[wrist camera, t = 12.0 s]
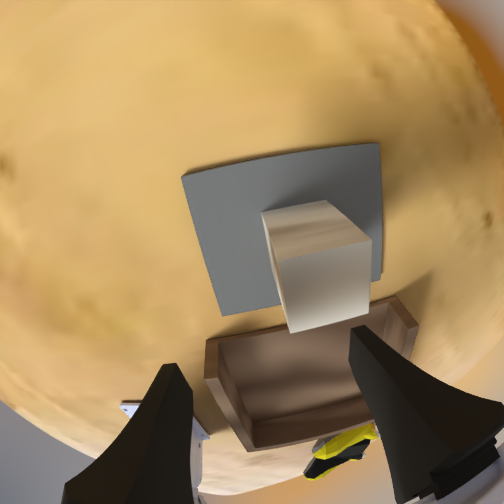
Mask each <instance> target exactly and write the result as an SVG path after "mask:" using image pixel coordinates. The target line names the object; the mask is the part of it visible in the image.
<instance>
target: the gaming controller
mask: <svg viewBox="0 0 504 504" xmlns="http://www.w3.org/2000/svg"><path fill="white" fill-rule="evenodd" d="M378 437H380V434H379V432H377V431H376V430H375V428H374V425H373V422H372V423H370V424H367V425H364V426H361V427H358V428H355V429H352V430H349V431H346V432H342V433H339V434H336V435H332V436H328V437H325V438H321V439H318V441H317V442H316V444H315V446H314V447H313V449H312V452H313V455H314V457H313V459H312V460H311V461H310V462H309V464H308V466H307V467H306V469H305V470H304V472H303V473H304V476H305V478H306V479H308V480H312V481H313V480H317V479H319V478H322V477H324V476H325V475H326V474H328V473H329V472H331V471H332V470H333V469H335V468H336V467H338V466H339V465H340V464H342V463H344V462H346V461H348V460H359V459H362V458H363V457H365V455H366V454H365V453H364V450H365V449H366V448H367V446H368V445H369V444H370V440H371V439H372V440H375V439H378Z"/></svg>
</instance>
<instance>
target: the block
mask: <svg viewBox="0 0 504 504" xmlns="http://www.w3.org/2000/svg"><path fill="white" fill-rule="evenodd" d="M261 214H262V219H263V225H264V230H265V235H266V241H267V246H268V252H269V257H270V262H271V268H272V272H273V276H274V279H275V282H276V286H277V289H278V293H279V296H280V300H281V303H282V307H283V310H284V314H285V317H286V321H287V324H288V328H289V331H290V334H291V333H295V332H300V331H304V330H308V329H312V328H316V327H320V326H324V325H328V324H332V323H335V322H339V321H343V320H346V319H350V318H353V317H357V316H360V315H364V314H367V313H368V312H369V300H370V285H371V262H372V239H371V238H369V237H368V236H367V235H366V234H365V233H364V232H363V231H362V230H361V229H359V228H358V227H357V226H356V225H355V224H354V223H353V222H352V221H350V220H349V219H348V218H347V217H346V216H345V215H343V214H342V213H341V212H340V211H339V210H338V209H336V208H335V207H334V206H333V205H332V204H330V203H329V202H328V201H327V200H322V201H316V202H311V203H306V204H300V205H295V206H290V207H285V208H280V209H275V210H270V211H265V212H261Z"/></svg>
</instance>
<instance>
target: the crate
mask: <svg viewBox="0 0 504 504" xmlns="http://www.w3.org/2000/svg"><path fill="white" fill-rule="evenodd" d="M361 325H366V326H367V327H368V328H369V329H370V330H372V331H373V332H374V333H375V334H376V335H377V336H378V337H380V338H381V339H382V340H383V341H384V342H386V343H387V344H388V345H389V346H390V347H392V348H393V349H394V350H395V351H397V352H398V353H399V354H400V355H402V356H403V357H404V358H406V359H407V360H408V361H409V358H410V355H411V352H412V348H413V345H414V342H415V338H416V335H417V331H418V327H419V324H418V323H417V322H416V321H415V319H414V318H413V317H412V315H411V314H410V313H409V312H408V310H407V309H406V308H405V307H404V305H403V304H402V303H401V302H400V300H399V299H398V298H397V297H396V296H393V297H389V298H386V299H383V300H380V301H376V302H373V303H370V304H369V312H368V313H367V314H364V315H360V316H357V317H353V318H350V319H346V320H343V321H339V322H335V323H332V324H328V325H324V326H320V327H316V328H312V329H308V330H304V331H300V332H295V333H291V334H290V331H289V328H288V325H284V326H279V327H275V328H270V329H265V330H260V331H255V332H250V333H245V334H239V335H234V336H228V337H222V338H216V339H210V340H206V348H205V366H204V381H205V382H206V384H207V386H208V388H209V390H210V391H211V393H212V395H213V397H214V399H215V400H216V402H217V404H218V406H219V407H220V409H221V411H222V412H223V414H224V416H225V417H226V419H227V421H228V422H229V424H230V426H231V427H232V429H233V430H234V432H235V434H236V435H237V437H238V438H239V440H240V441H241V443H242V444H243V446H244V448H245V449H246V451H247V452H254V451H261V450H268V449H274V448H280V447H285V446H290V445H295V444H300V443H304V442H309V441H313V440H317V439H321V438H325V437H328V436H332V435H336V434H339V433H342V432H346V431H349V430H352V429H355V428H358V427H361V426H364V425H367V424H370V423H372V422H375V420H374V418H373V416H372V414H371V412H370V410H369V408H368V406H367V404H366V402H365V400H364V398H363V395H362V393H361V391H360V389H359V387H358V385H357V383H356V381H355V378H354V376H353V373H352V370H351V367H350V364H349V361H348V357H349V345H350V331H351V328H354V327H357V326H361Z"/></svg>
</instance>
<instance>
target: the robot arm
mask: <svg viewBox="0 0 504 504" xmlns="http://www.w3.org/2000/svg"><path fill="white" fill-rule="evenodd" d="M348 361H349V364H350V367H351V370H352V373H353V376H354V378H355V381H356V383H357V385H358V387H359V389H360V391H361V393H362V395H363V398H364V400H365V402H366V404H367V406H368V408H369V410H370V412H371V414H372V416H373V418H374V420H375V423H376V425H377V428H378V431H379V434H380V437H381V440H382V443H383V446H384V450H385V453H386V457H387V461H388V464H389V469H390V473H391V478H392V483H393V488H394V494H395V500H396V503H397V504H404V503H406V502H408V501H410V500H412V499H414V498H416V497H418V496H419V498H420V500H419V501H417V502H415V503H413V504H503V503H504V443H503V444H501V445H500V446H499V447H498V448H497V449H496V447H495V446H494V445H495V444H496V443H497V440H496V439H495V437H494V436H495V435H496V434H498V433H499V432H500V431H501V430H502V428H504V405H503V404H502V403H501V402H497V401H493V400H489V399H485V398H481V397H478V396H475V395H472V394H469V393H466V392H464V391H461V390H459V389H457V388H454V387H452V386H450V385H448V384H446V383H444V382H442V381H440V380H438V379H436V378H435V377H433V376H431V375H429V374H428V373H426V372H424V371H423V370H421V369H420V368H418V367H417V366H416V365H414V364H413V363H411V362H410V361H408V360H407V359H406V358H404V357H403V356H402V355H400V354H399V353H398V352H397V351H395V350H394V349H393V348H392V347H390V346H389V345H388V344H387V343H386V342H384V341H383V340H382V339H381V338H380V337H378V336H377V335H376V334H375V333H374V332H373V331H372V330H370V329H369V328H368V327H367V326H366V325H361V326H357V327H354V328H351V331H350V345H349V357H348ZM119 407H120V408H121V409H122V410H123V411H124V412H125V413H126V414H127V415H128V416H129V417H130V418H131V419H130V420H129V422H128V423H127V425H126V426H125V427H124V429H123V430H122V431H121V433H120V434H119V435H118V437H117V438H116V439H115V440H114V441H113V443H112V444H111V445H110V446H109V447H108V448H107V449H106V450H105V451H104V452H103V453H102V454H101V455H100V456H99V457H98V458H97V459H96V460H95V461H94V462H93V463H92V464H91V465H90V466H88V467H87V468H86V469H85V470H83V471H82V472H81V473H79V474H78V475H77V476H75V477H74V478H72V479H71V480H69V481H68V482H66V483H65V486H64V491H63V496H62V502H61V504H209V503H208V502H207V501H206V500H205V498H204V497H203V496H202V495H198V488H197V487H198V486H199V484H200V482H201V480H202V440H209V439H210V436H209V435H208V434H207V432H206V431H205V430H204V429H203V427H202V426H201V425H200V424H199V422H198V421H197V420H196V418H195V417H194V416H193V391H192V389H191V387H190V386H189V384H188V382H187V381H186V379H185V377H184V376H183V374H182V372H181V370H180V369H179V367H178V365H177V363H171V364H163V365H162V366H161V368H160V370H159V372H158V373H157V375H156V377H155V379H154V381H153V382H152V384H151V386H150V388H149V390H148V391H147V393H146V395H145V396H144V398H143V400H142V402H141V403H120V405H119Z"/></svg>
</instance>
